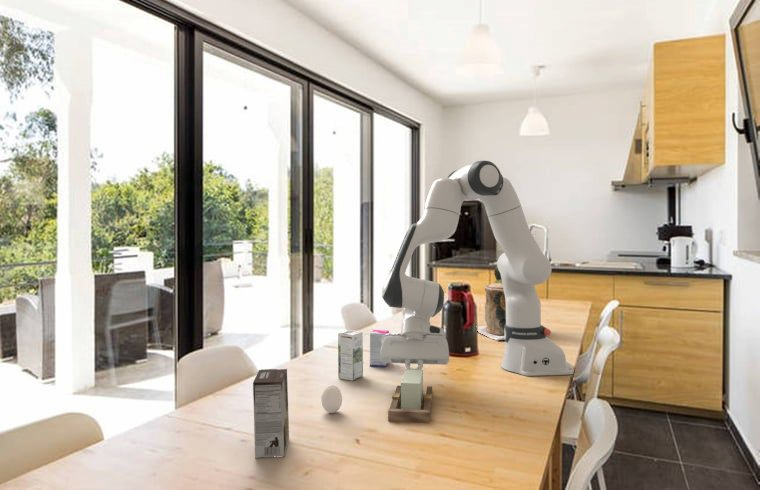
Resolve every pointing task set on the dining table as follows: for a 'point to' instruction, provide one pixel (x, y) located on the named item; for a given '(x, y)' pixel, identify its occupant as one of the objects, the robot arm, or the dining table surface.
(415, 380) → the block
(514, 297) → the robot arm
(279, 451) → the coffee box
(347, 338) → the syrup box
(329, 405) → the egg
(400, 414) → the slot track
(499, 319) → the cookie jar
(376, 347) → the supplement box
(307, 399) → the dining table surface
